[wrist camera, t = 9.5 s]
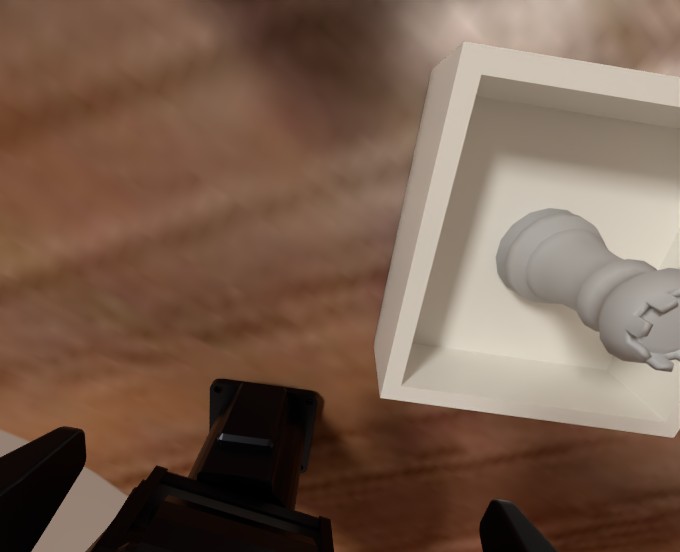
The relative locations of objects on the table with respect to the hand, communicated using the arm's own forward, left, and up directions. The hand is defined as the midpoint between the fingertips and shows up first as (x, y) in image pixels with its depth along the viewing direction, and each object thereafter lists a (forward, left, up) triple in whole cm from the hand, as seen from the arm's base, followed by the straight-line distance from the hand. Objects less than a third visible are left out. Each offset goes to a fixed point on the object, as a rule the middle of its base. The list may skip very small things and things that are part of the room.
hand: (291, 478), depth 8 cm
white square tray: (+3, -10, -12) cm, 16 cm away
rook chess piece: (+3, -10, -11) cm, 16 cm away
